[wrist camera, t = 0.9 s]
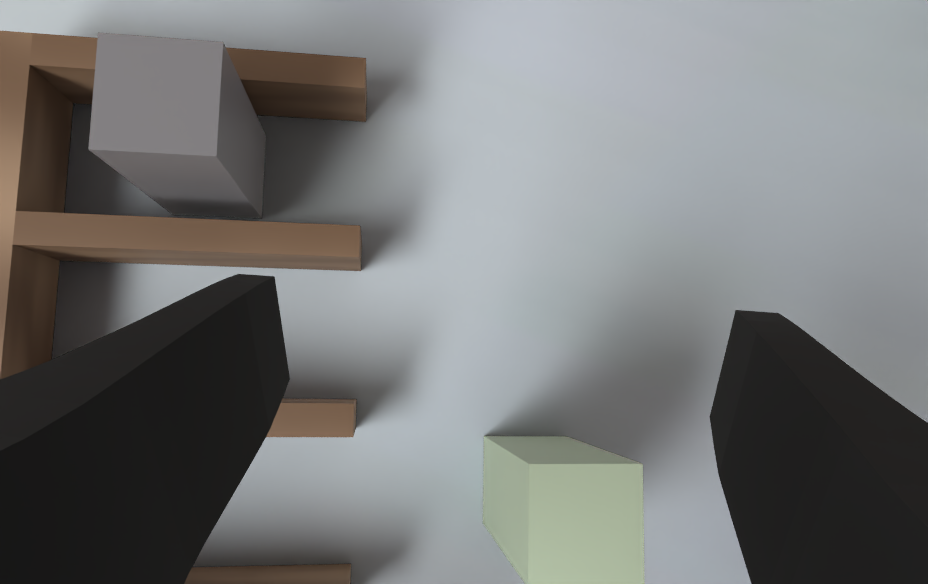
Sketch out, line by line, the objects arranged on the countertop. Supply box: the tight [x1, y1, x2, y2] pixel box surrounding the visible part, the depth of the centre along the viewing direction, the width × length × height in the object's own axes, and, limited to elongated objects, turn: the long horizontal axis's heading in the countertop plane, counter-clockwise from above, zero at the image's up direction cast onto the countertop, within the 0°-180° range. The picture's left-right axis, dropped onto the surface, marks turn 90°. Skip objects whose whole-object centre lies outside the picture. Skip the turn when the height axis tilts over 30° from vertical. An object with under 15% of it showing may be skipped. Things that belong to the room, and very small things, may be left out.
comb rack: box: [0, 31, 367, 584], centre depth 21 cm, size 18×12×3 cm, turn 179°
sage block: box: [483, 436, 644, 584], centre depth 20 cm, size 3×3×7 cm
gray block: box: [88, 33, 266, 218], centre depth 20 cm, size 3×3×7 cm
